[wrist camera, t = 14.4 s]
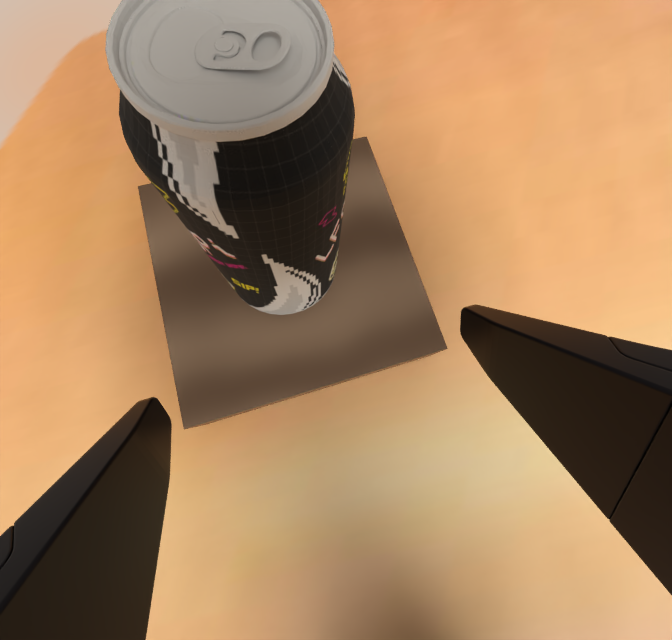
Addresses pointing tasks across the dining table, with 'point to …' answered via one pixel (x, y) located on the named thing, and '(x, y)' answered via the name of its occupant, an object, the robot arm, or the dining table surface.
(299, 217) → the beverage can
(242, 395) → the walnut block
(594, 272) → the dining table surface
